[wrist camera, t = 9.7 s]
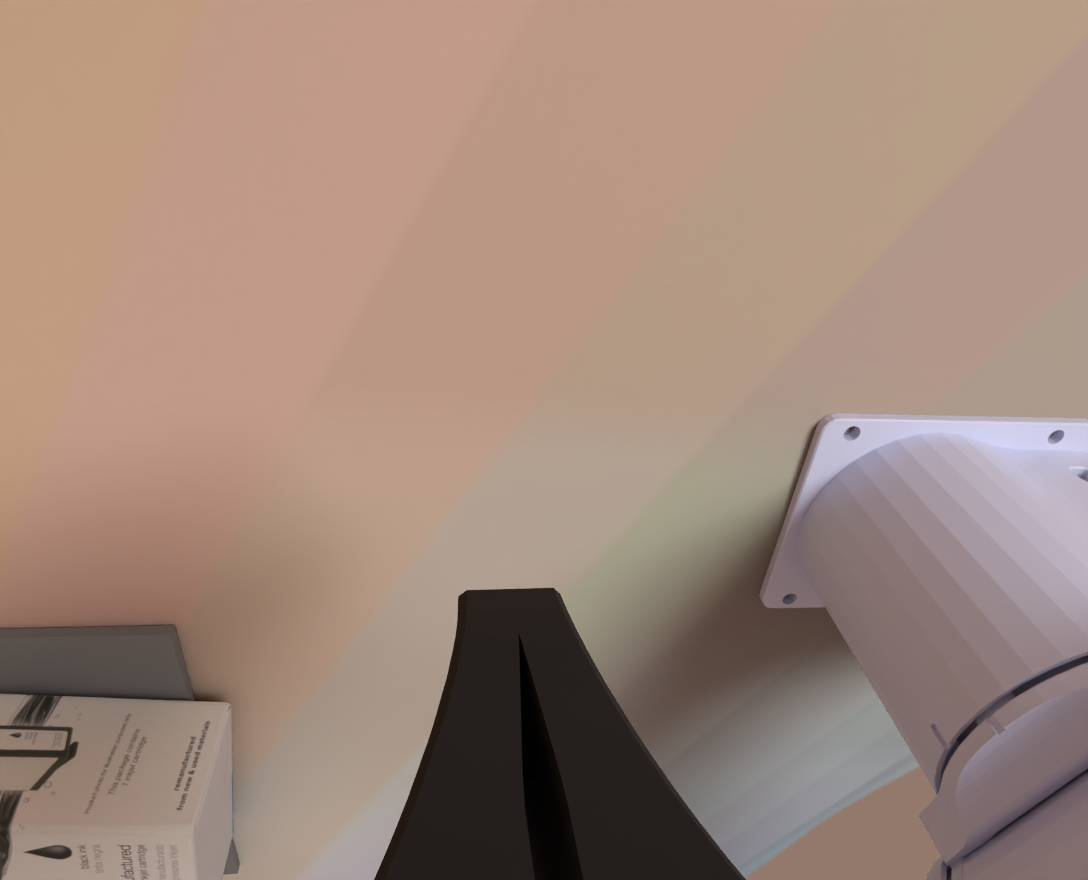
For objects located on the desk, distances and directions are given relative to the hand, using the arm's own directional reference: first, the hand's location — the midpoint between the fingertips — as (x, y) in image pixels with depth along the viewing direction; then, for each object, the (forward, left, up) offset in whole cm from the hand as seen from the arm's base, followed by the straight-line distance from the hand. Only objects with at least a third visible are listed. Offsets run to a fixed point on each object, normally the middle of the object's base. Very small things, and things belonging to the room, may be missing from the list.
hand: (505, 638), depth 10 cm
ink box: (+8, +18, -8) cm, 21 cm away
